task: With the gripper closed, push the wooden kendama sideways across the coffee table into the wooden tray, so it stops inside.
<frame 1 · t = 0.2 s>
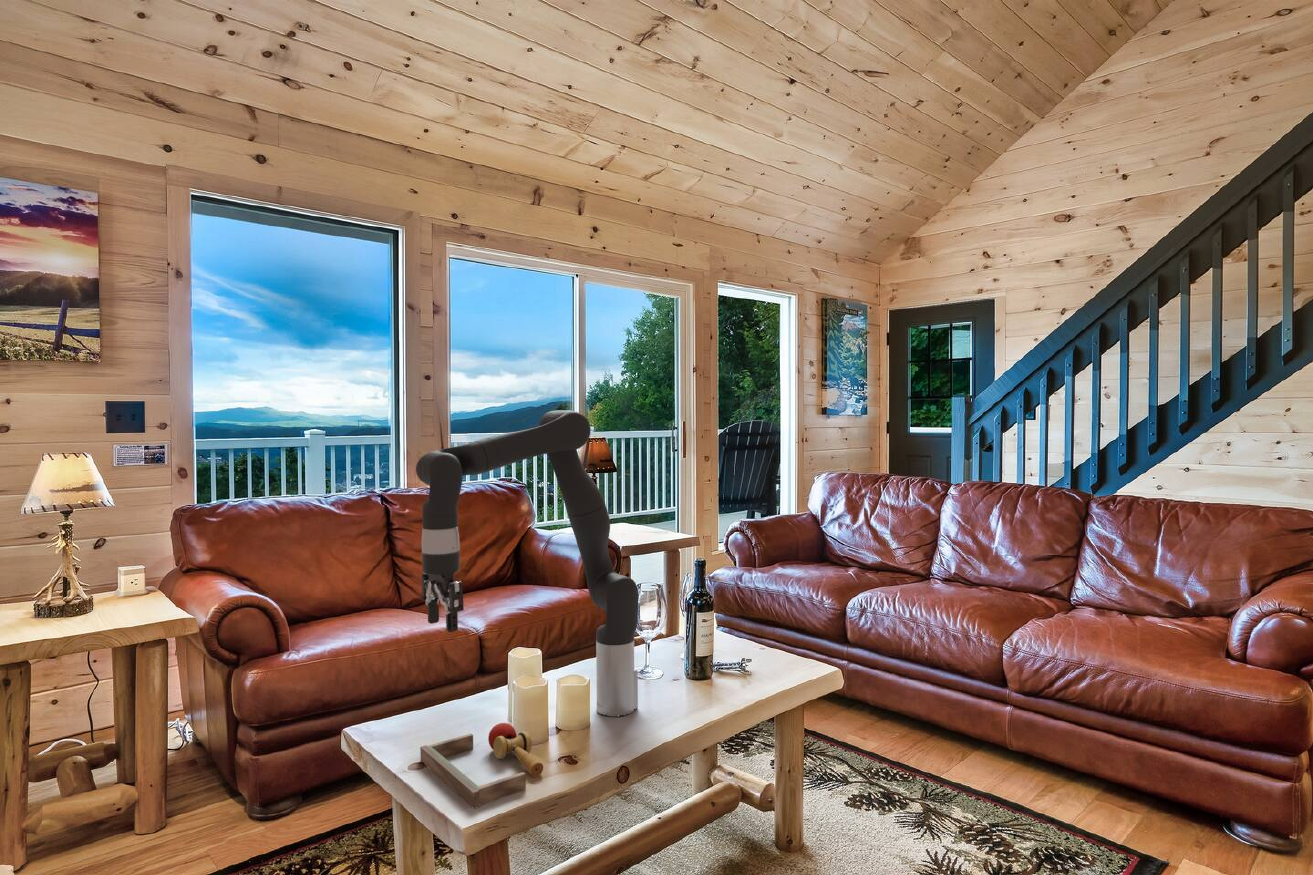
hand: (442, 626, 162), 29 cm above the table, tool pointing down, fingers open, 8 cm apart
kendama: (516, 762, 165), on the table
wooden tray: (474, 773, 159), on the table
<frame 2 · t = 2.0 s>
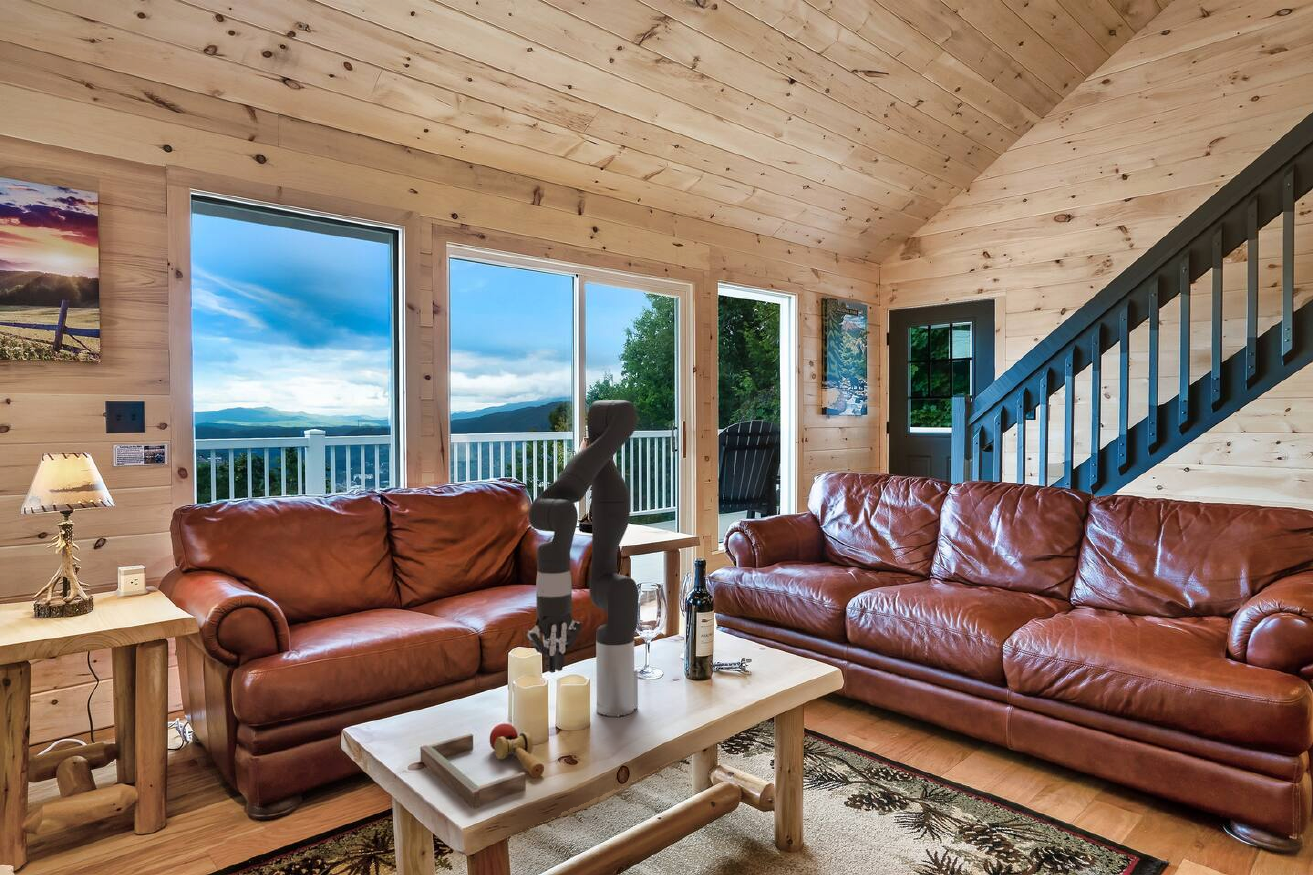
hand: (554, 670, 170), 17 cm above the table, tool pointing down, fingers closed
nothing on the table moved.
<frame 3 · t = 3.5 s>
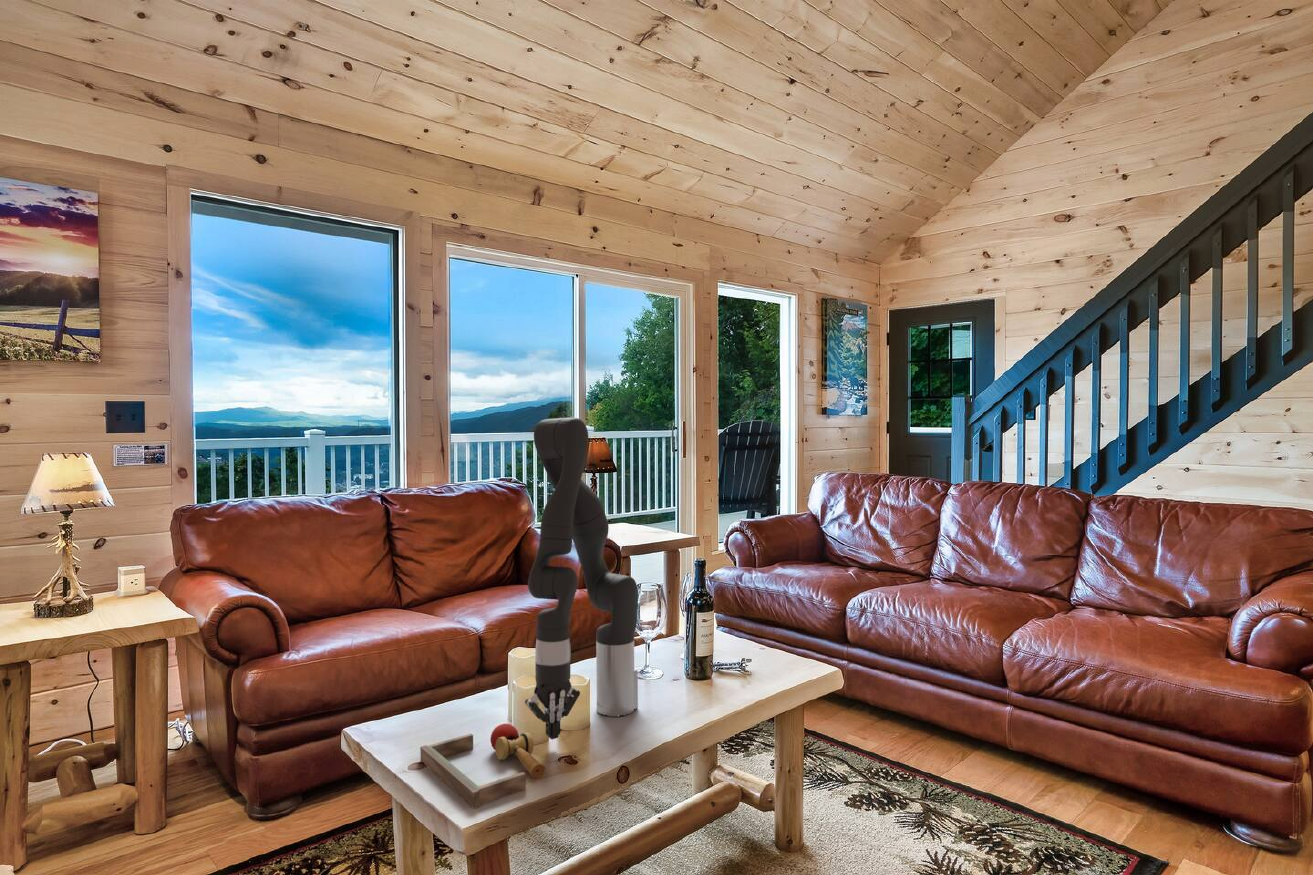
hand: (552, 737, 170), 2 cm above the table, tool pointing down, fingers closed
nothing on the table moved.
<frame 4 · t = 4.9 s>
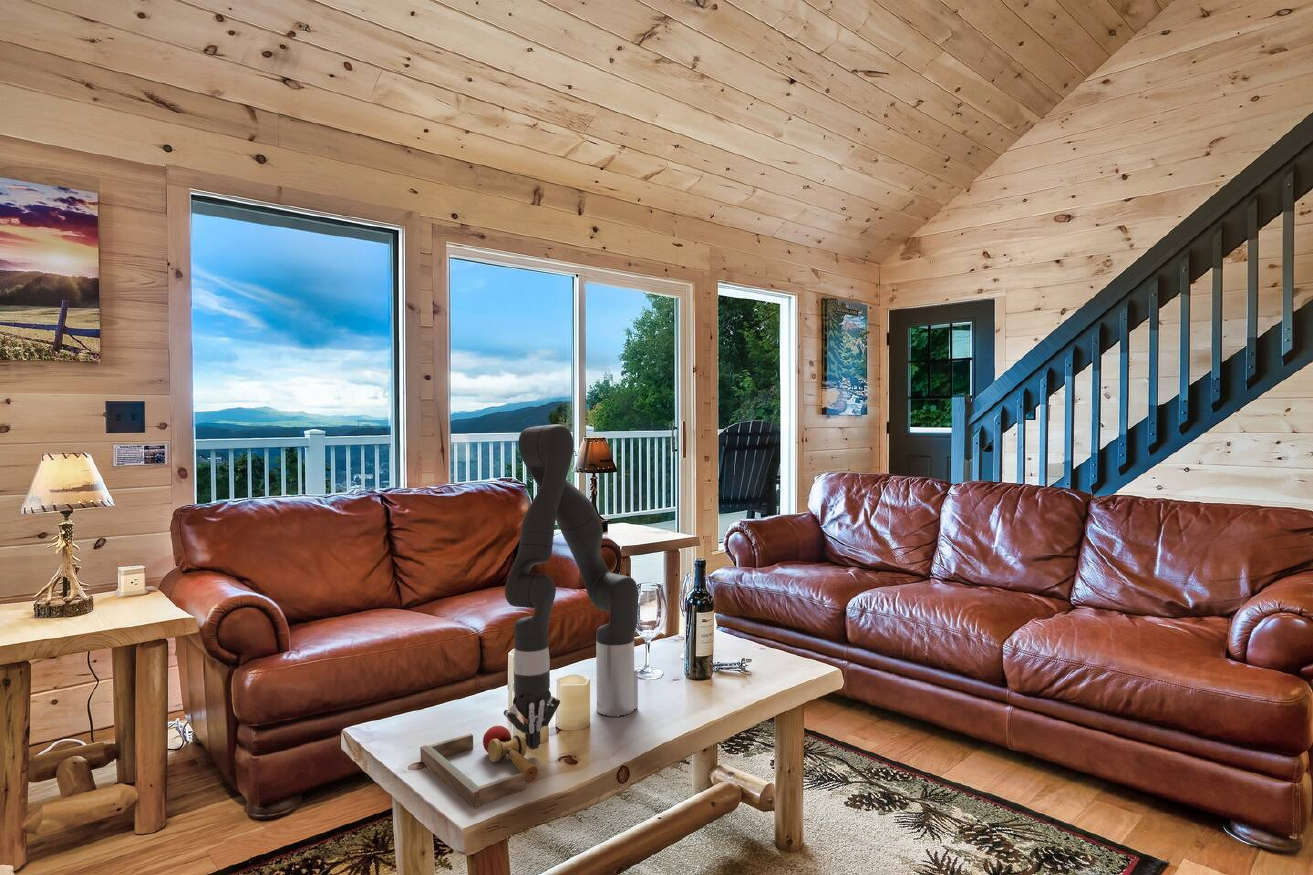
hand: (532, 747, 167), 2 cm above the table, tool pointing down, fingers closed
kendama: (511, 765, 163), on the table, touching gripper
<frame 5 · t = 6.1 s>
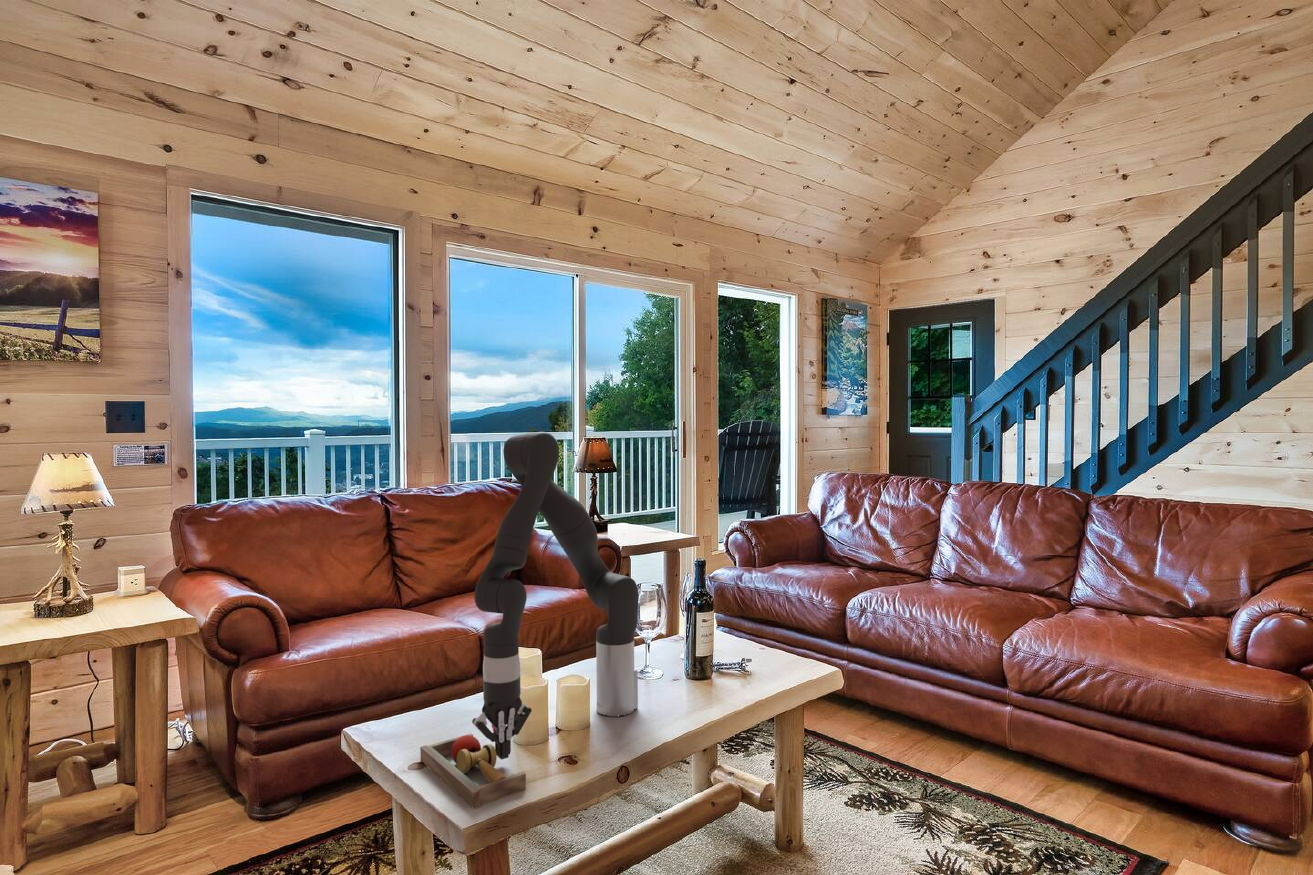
hand: (502, 757, 162), 2 cm above the table, tool pointing down, fingers closed
kendama: (481, 776, 159), on the table
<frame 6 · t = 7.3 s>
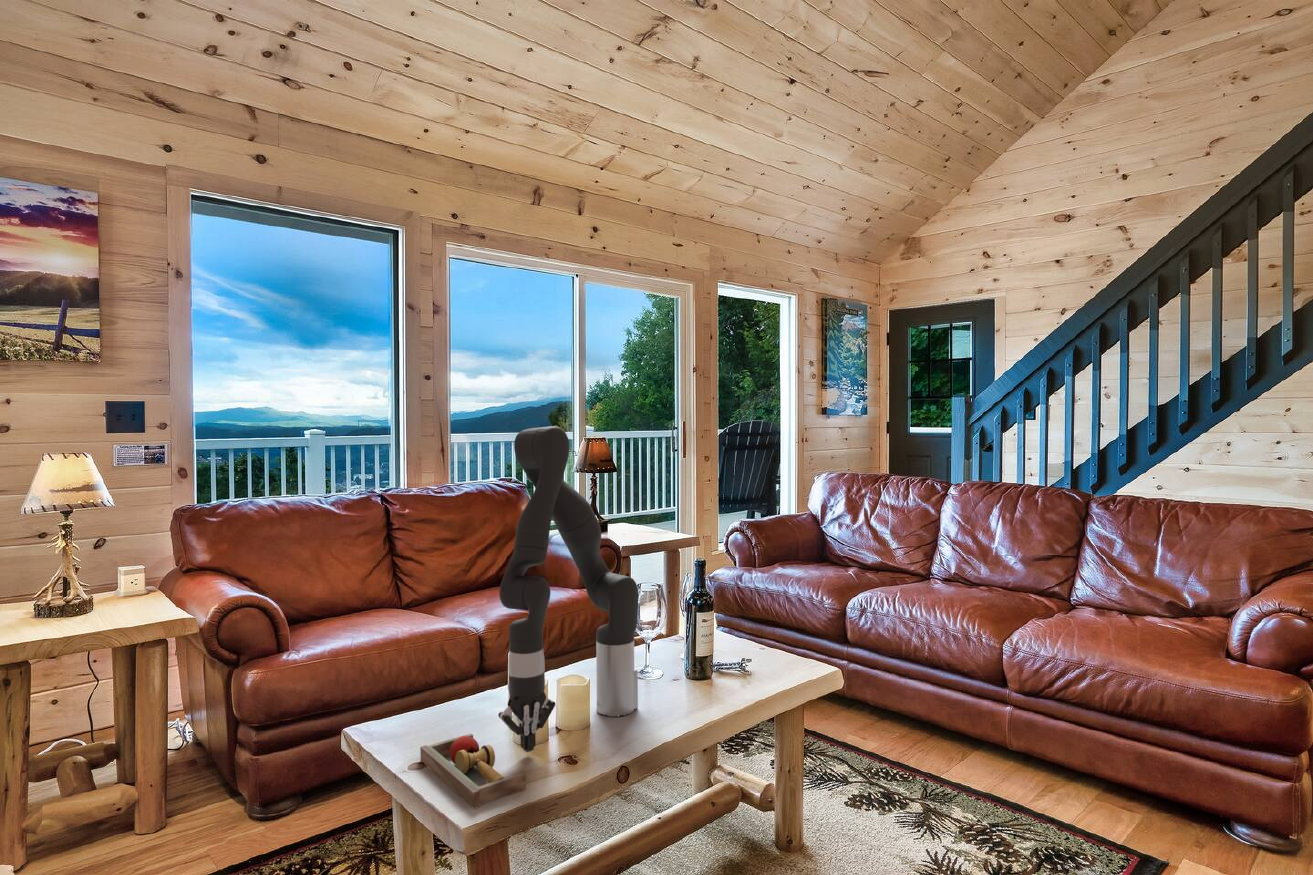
hand: (528, 749, 167), 1 cm above the table, tool pointing down, fingers closed
nothing on the table moved.
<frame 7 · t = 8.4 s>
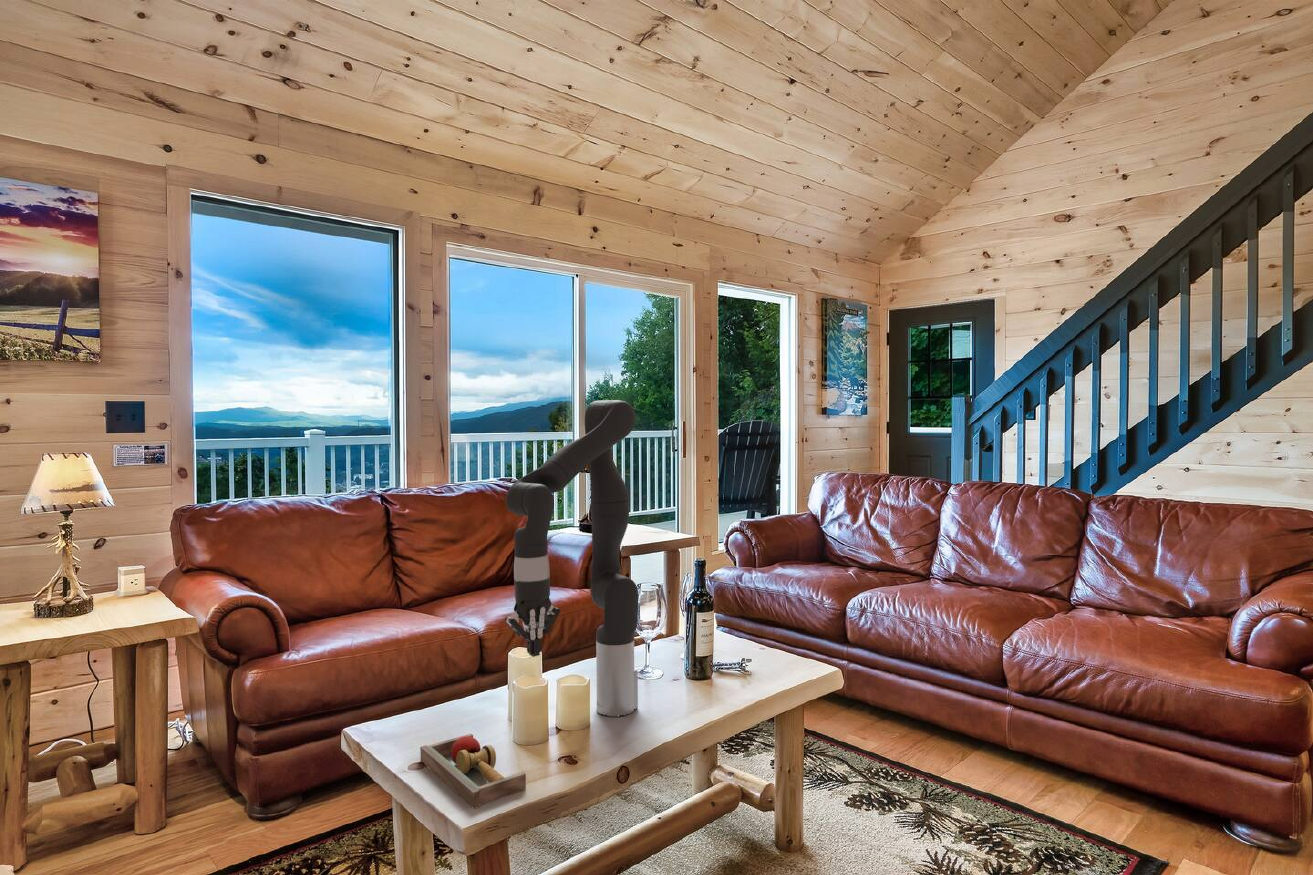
hand: (534, 655, 169), 20 cm above the table, tool pointing down, fingers closed
nothing on the table moved.
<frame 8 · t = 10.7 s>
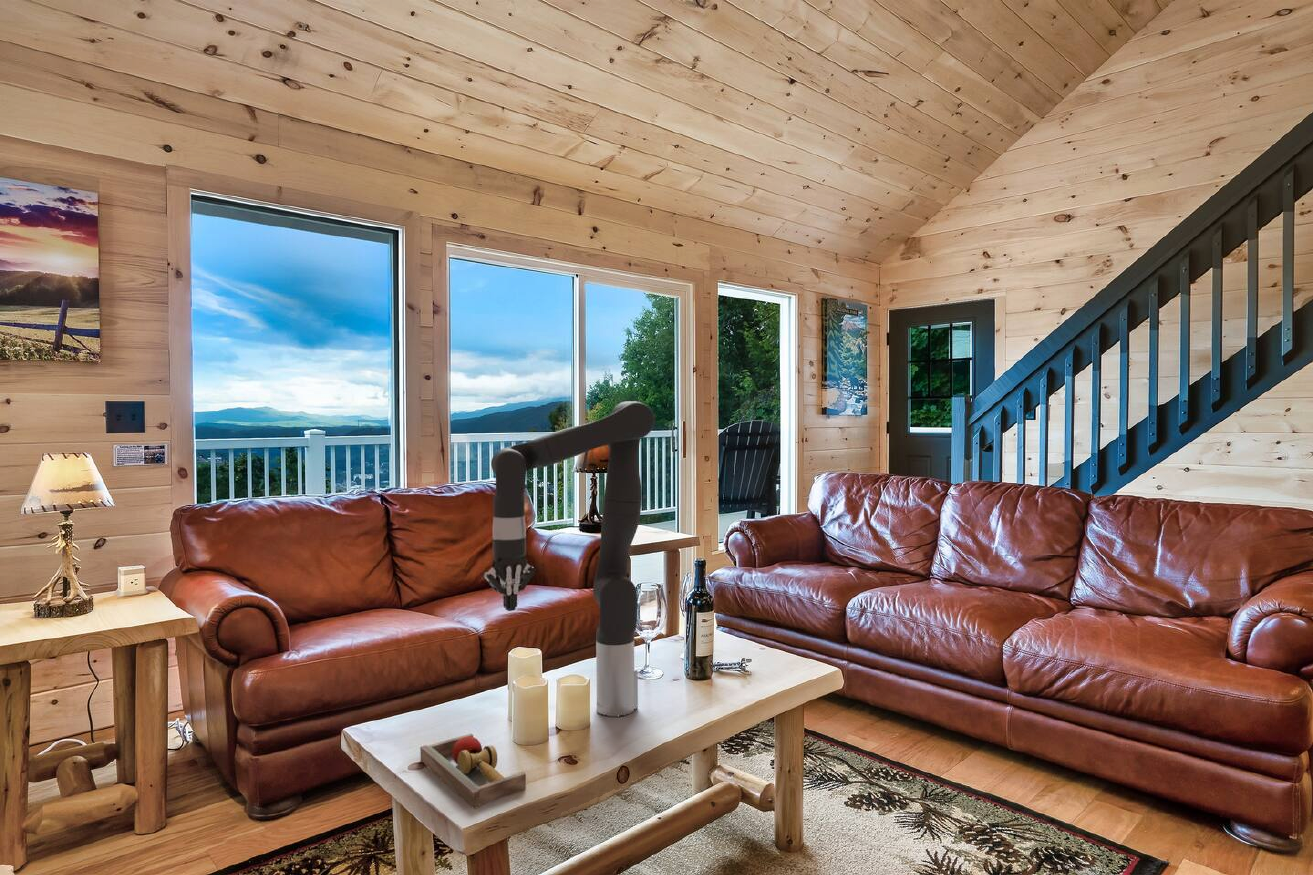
hand: (510, 609, 182), 27 cm above the table, tool pointing down, fingers closed
nothing on the table moved.
at the end: kendama inside the target area (1.9 cm from its centre), on the table; kendama moved 9.0 cm from its start; the gripper is holding nothing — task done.
